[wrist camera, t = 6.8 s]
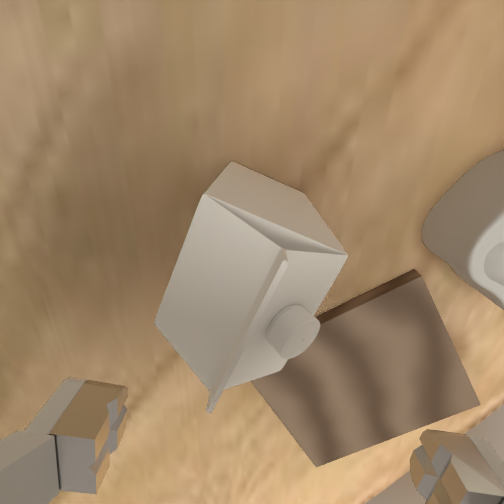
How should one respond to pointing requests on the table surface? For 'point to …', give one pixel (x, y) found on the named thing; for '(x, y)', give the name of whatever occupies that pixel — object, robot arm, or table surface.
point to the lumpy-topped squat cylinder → (472, 228)
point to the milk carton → (248, 280)
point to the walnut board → (370, 373)
